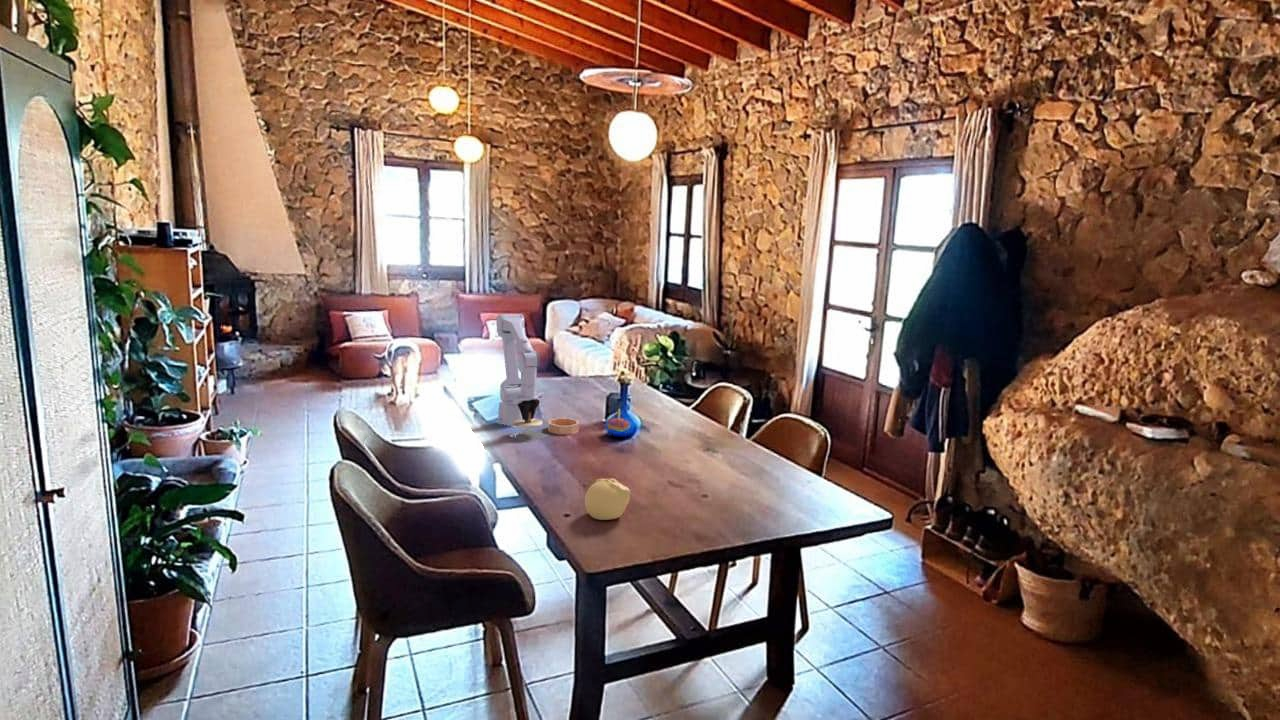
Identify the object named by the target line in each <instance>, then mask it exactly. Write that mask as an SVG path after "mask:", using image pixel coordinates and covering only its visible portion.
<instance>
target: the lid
mask: <svg viewBox="0 0 1280 720" xmlns="http://www.w3.org/2000/svg"><path fill="white" fill-rule="evenodd" d="M543 423H544V422H543V420H541V419H540V418H539V419H538V418H535V417H533V419H531V411H529V415H528V420H527V421H525V420H523V419H517V420H515V421H513V425H515V426H517V427H516V428H525V429H531V428H539V427H542V425H544V424H543Z"/></svg>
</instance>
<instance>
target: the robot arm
mask: <svg viewBox="0 0 1280 720" xmlns="http://www.w3.org/2000/svg"><path fill="white" fill-rule="evenodd" d="M495 323H496V330H497V331H496V333H497V336H498V337H500V338H501V340H502V348H503V349H502V350H503V356H504V367H505V375H506V377H505V380H504V381H502V382H501V383H500V386H499V387H500V391H499V397H500V400H501V402H500V403H499V405H498V409H497V410H498V413H497V414H498V415H497V417H498V419H497V420H498V421H497V422H496V424H498V423H499V425H502V423H504V425H503V426H505V424H506V425H508V426H507V427H509V426H511V427H510V428H513V427H515V428H518V427H517V426H515V425H513V421H515V420H517V419H523V420H525V421H527V420H528V415H529V411H531V419H533V418H535V414H536V410H537V408H538V406H539V404H540V402H541V401H540V400H539V399H543V398H544V392H542V391H537V374H538V373H537V372H538V371H537V370H538V369H537V368H539V366H540V355H539V353H538V352H537V351H536V350H534V349H533V346H532V344H531V342H530V340H529V339H528V338H527V337H526V336H525V332H524V327H525V317H524V315H523V314H522V313H506V314H505V313H503V314H502V313H499V314H498V315H497V317H496V321H495ZM517 354H518V358H517ZM518 364H519V367H518ZM519 372H520V375H519Z"/></svg>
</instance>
